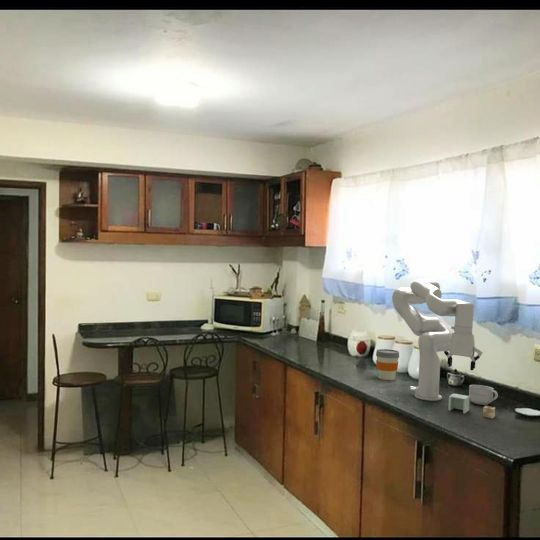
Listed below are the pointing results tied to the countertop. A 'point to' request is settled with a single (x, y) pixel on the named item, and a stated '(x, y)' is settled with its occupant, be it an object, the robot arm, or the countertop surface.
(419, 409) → the countertop surface
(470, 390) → the teacup
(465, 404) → the toy fireplace
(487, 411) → the lettered cube
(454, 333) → the robot arm
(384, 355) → the reusable coffee cup
